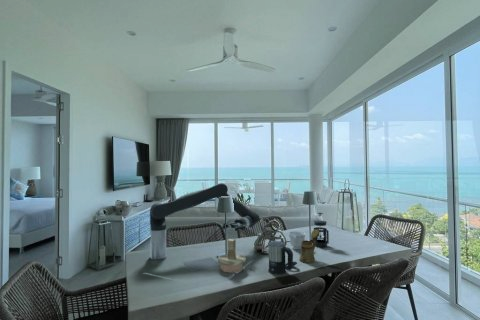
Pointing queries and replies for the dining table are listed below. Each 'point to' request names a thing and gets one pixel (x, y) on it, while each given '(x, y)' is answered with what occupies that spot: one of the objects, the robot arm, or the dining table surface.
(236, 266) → the terracotta bowl
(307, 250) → the wooden mug
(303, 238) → the teacup
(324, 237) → the french press
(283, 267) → the milk frother
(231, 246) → the oak lid
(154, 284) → the dining table surface
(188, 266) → the grey flat slab
